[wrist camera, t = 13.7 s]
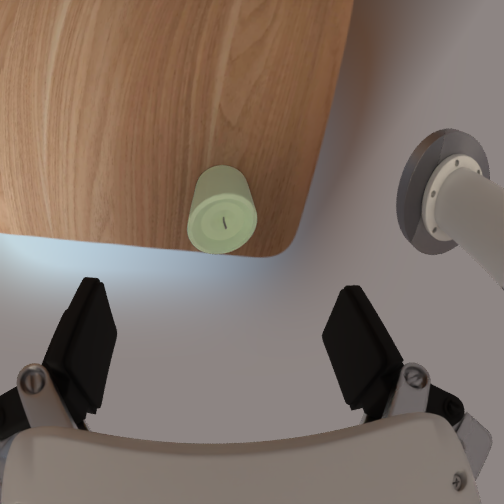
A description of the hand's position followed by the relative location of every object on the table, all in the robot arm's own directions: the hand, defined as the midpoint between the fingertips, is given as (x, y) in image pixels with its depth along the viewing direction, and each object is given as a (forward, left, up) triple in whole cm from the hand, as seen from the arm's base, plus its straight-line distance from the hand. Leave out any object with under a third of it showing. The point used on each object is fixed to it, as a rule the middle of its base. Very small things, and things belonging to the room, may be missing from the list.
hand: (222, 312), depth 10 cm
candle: (0, +1, -17) cm, 17 cm away
